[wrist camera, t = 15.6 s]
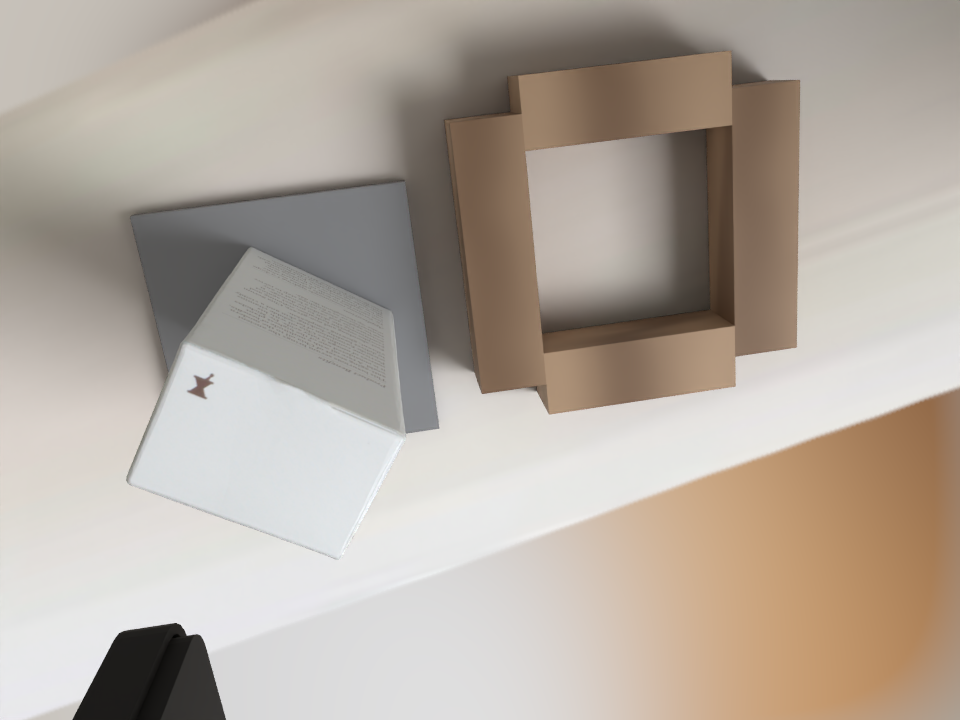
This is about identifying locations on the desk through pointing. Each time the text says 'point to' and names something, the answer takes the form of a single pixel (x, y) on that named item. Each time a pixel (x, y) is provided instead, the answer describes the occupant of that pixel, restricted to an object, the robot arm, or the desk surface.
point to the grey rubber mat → (296, 265)
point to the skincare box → (279, 408)
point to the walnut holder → (731, 229)
